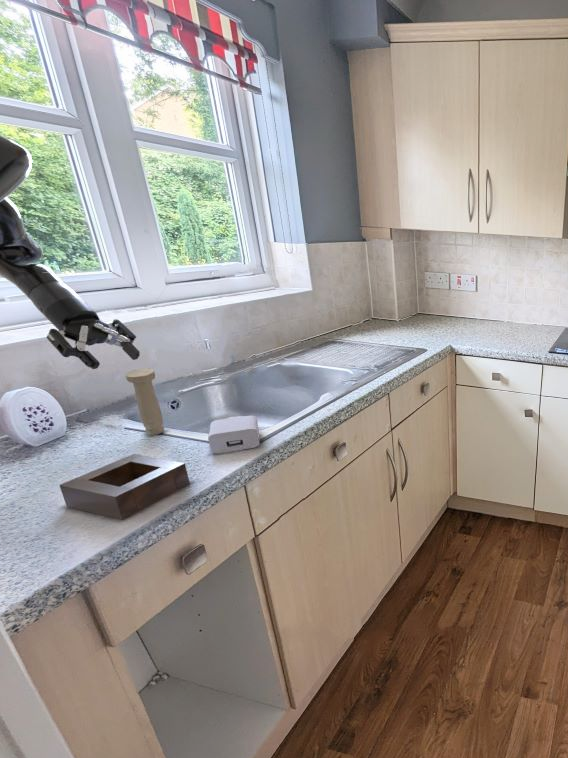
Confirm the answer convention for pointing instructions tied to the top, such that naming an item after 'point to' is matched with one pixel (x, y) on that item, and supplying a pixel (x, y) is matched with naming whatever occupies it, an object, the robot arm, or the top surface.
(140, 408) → the handle
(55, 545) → the top surface
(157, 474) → the socket
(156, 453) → the top surface
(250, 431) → the charger
